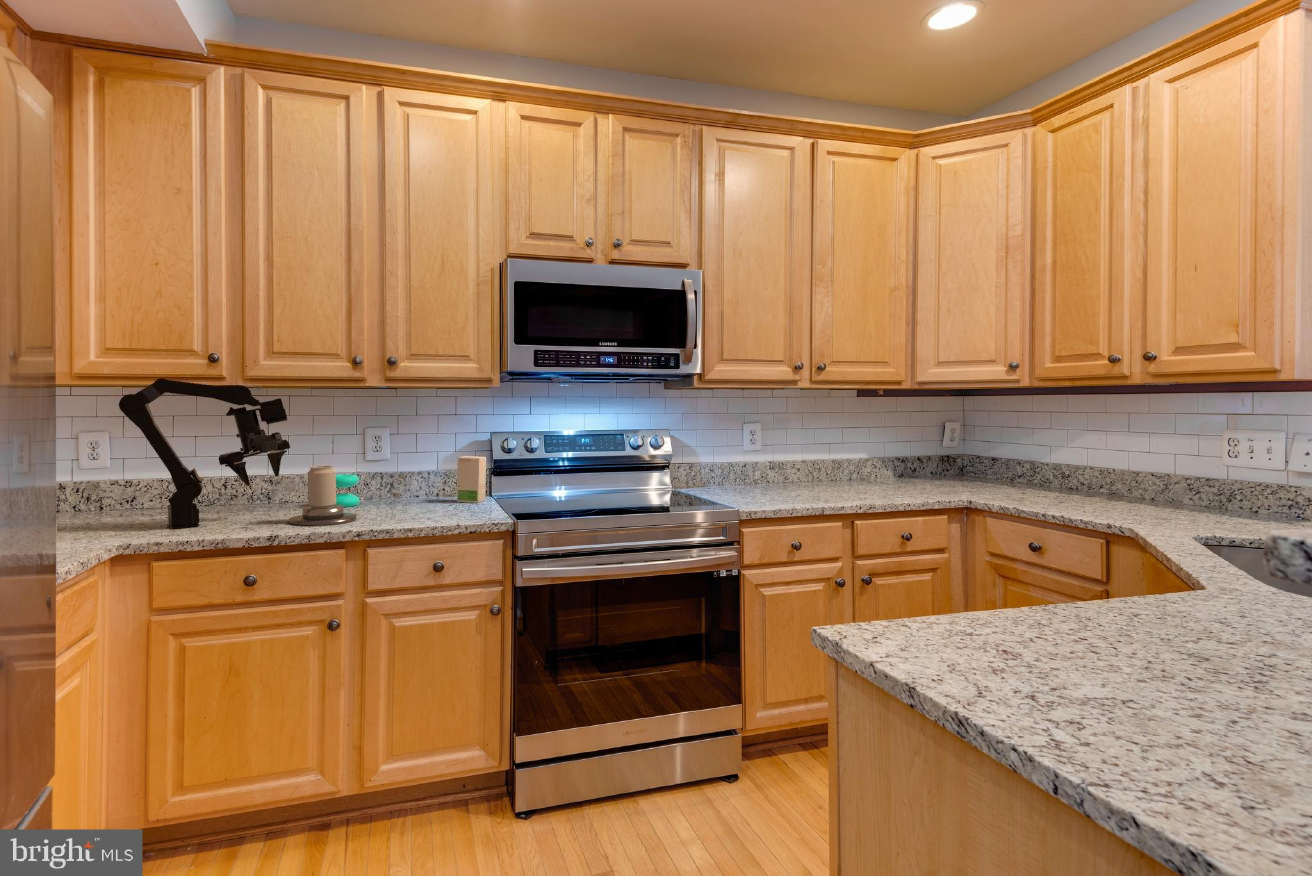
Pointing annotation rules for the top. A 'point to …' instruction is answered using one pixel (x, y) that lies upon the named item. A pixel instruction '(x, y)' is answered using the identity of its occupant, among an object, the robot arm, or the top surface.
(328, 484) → the can
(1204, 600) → the top surface
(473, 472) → the skincare box
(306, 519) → the duct stub
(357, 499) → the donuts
